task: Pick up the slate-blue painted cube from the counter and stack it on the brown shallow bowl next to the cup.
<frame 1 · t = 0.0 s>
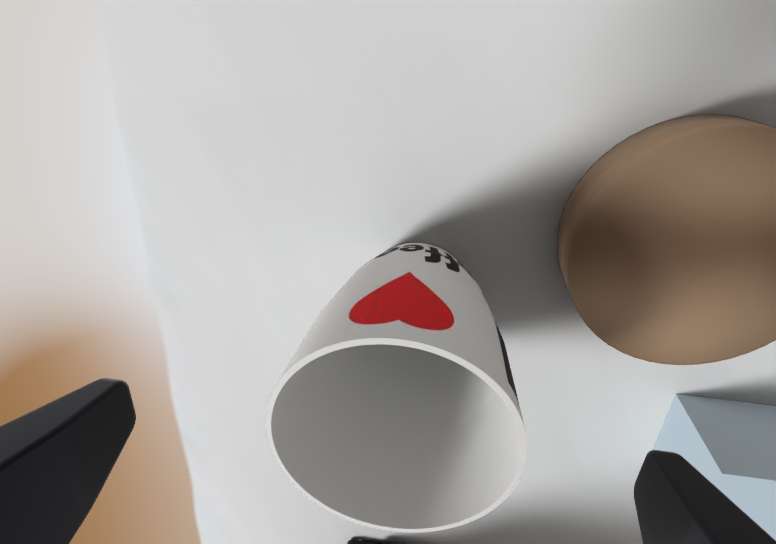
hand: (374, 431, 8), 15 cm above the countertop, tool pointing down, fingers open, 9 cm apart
cup: (417, 288, 24), on the countertop
brown shallow bowl: (678, 235, 21), on the countertop
block: (709, 435, 26), on the countertop
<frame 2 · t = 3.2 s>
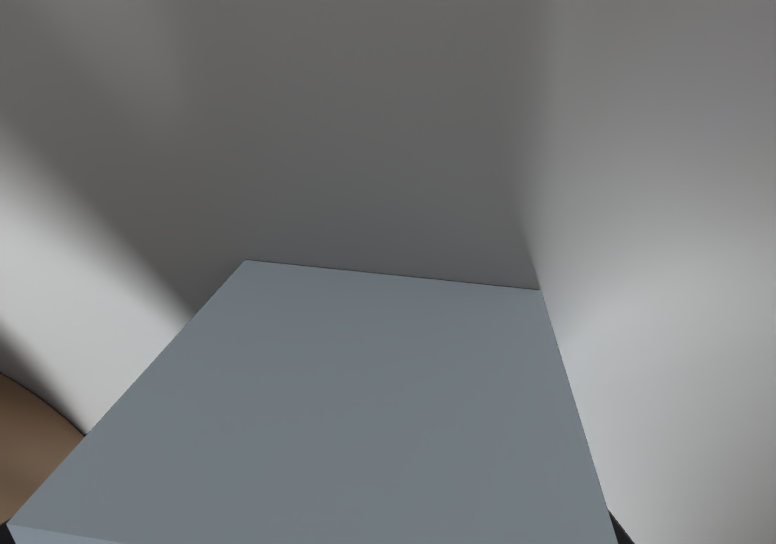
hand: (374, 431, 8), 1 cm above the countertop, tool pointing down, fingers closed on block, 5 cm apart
block: (382, 390, 9), on the countertop, touching gripper
when the fingers open (4 cm above the countertop, at t = 7.0 s): block stays where it is, resting on brown shallow bowl.
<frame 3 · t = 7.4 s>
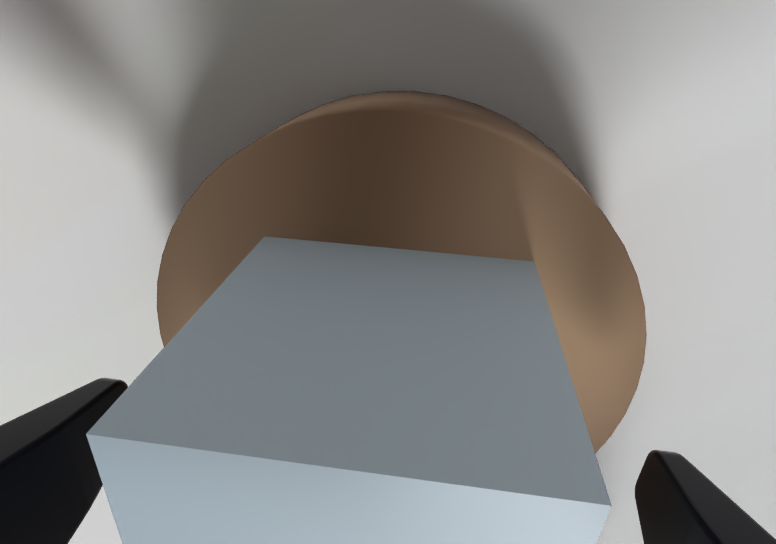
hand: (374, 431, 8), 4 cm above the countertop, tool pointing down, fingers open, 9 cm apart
brown shallow bowl: (400, 299, 12), on the countertop
block: (389, 357, 10), point 2 cm above the countertop, touching brown shallow bowl
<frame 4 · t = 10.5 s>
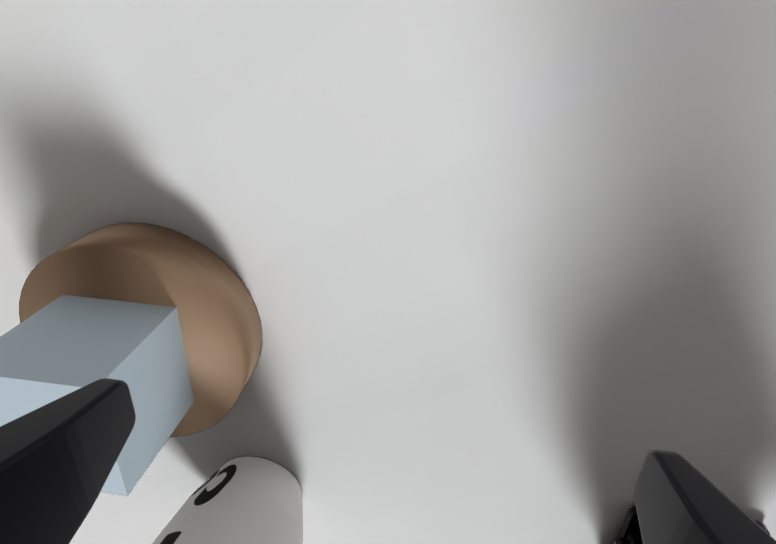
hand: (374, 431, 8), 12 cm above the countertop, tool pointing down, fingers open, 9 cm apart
cup: (261, 485, 28), on the countertop
brown shallow bowl: (161, 320, 23), on the countertop
block: (131, 350, 21), point 2 cm above the countertop, touching brown shallow bowl
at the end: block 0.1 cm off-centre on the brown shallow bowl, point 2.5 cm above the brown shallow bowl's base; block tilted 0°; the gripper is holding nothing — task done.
